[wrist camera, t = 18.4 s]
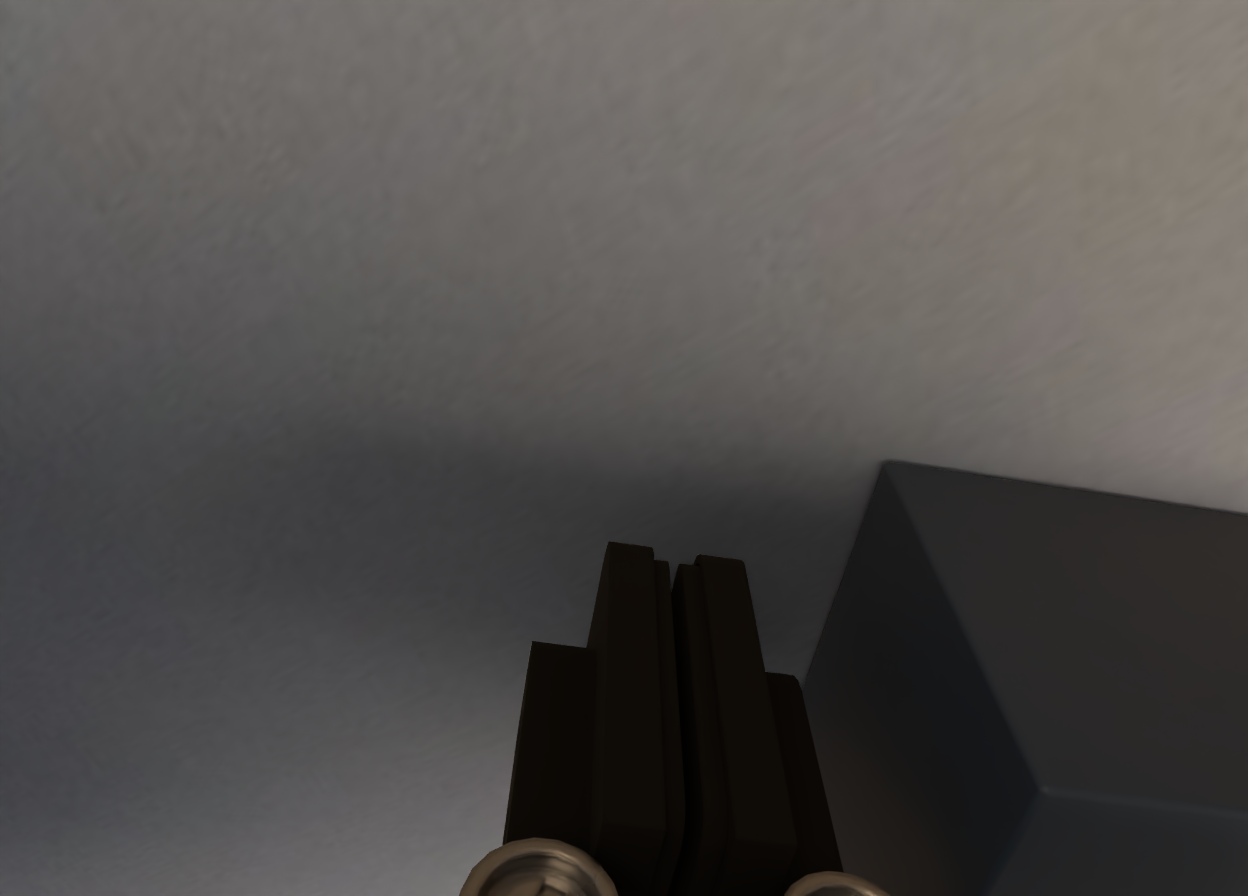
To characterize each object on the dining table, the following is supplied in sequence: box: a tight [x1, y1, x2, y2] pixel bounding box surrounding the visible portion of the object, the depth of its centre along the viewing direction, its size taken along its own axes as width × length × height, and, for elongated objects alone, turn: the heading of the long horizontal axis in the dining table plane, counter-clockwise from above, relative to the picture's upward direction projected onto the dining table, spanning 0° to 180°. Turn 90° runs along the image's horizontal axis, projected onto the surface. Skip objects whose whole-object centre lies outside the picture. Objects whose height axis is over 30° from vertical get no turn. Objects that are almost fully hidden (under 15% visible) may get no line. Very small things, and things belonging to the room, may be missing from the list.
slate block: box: [802, 462, 1248, 896], centre depth 11 cm, size 5×5×5 cm
